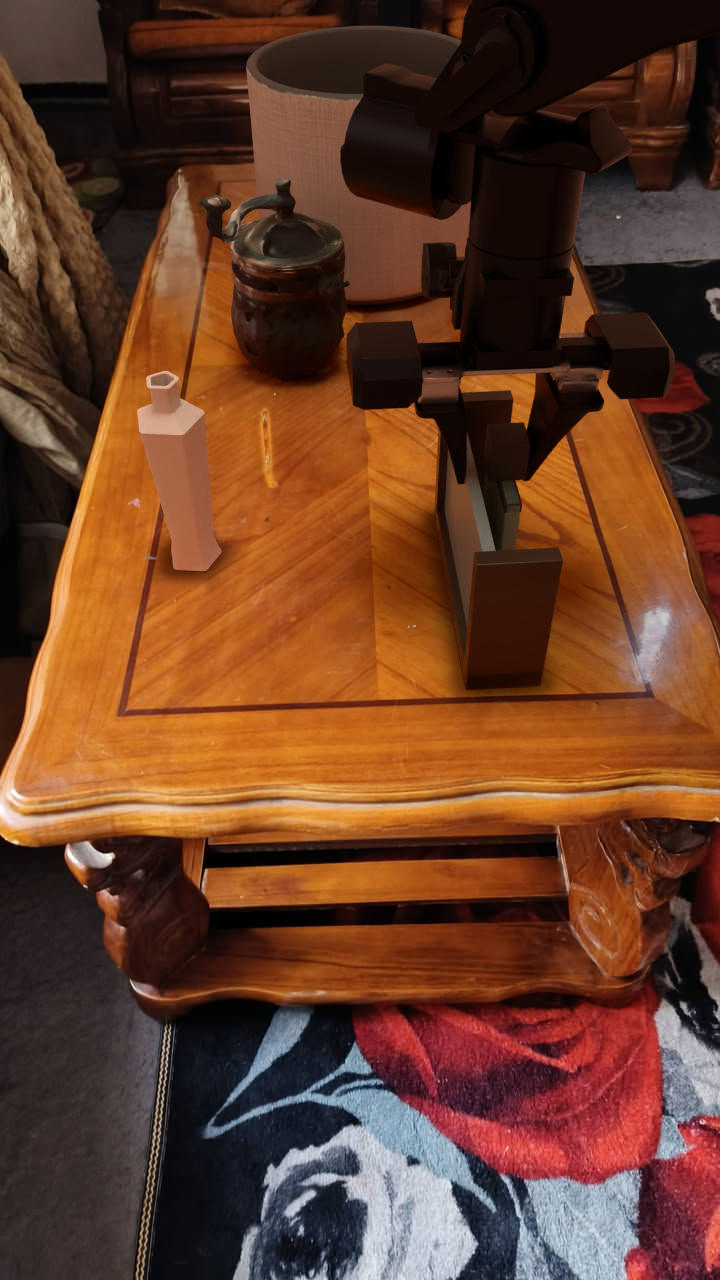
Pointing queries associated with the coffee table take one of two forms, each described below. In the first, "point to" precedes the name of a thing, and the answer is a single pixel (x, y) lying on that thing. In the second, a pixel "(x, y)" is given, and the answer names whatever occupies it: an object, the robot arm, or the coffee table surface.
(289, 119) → the planter
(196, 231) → the coffee table surface
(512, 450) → the pane
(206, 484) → the perfume bottle
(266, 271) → the coffee grinder
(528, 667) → the window frame
